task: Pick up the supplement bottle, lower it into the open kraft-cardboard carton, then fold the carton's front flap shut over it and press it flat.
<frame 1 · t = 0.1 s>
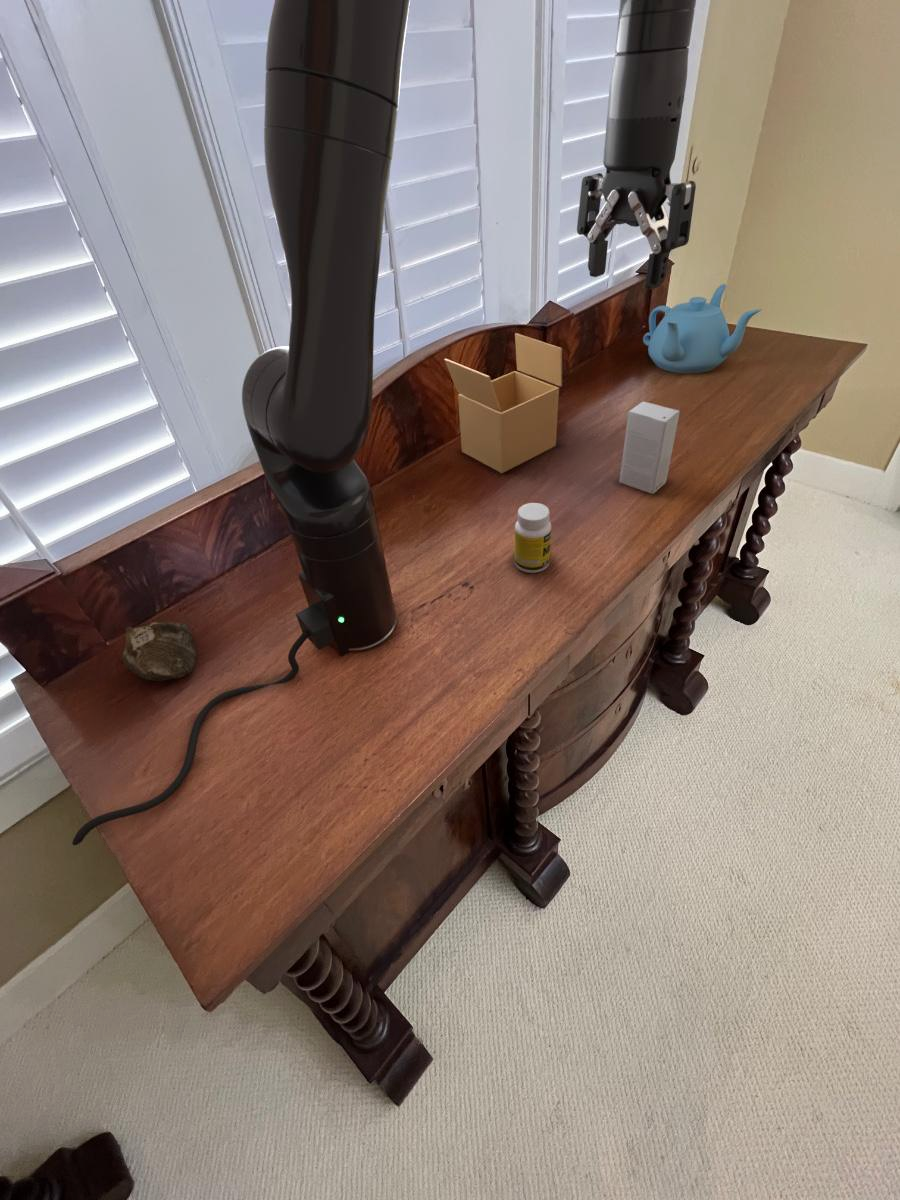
hand: (624, 281, 72), 29 cm above the sideboard, tool pointing down, fingers open, 8 cm apart
cosmetic box: (641, 484, 92), on the sideboard
flap: (472, 384, 90), point 14 cm above the sideboard, hinge at 110.0°
supplement bottle: (531, 563, 80), on the sideboard
fossilized seashell: (167, 663, 71), on the sideboard
teapot: (689, 363, 123), on the sideboard
carton: (508, 448, 102), on the sideboard
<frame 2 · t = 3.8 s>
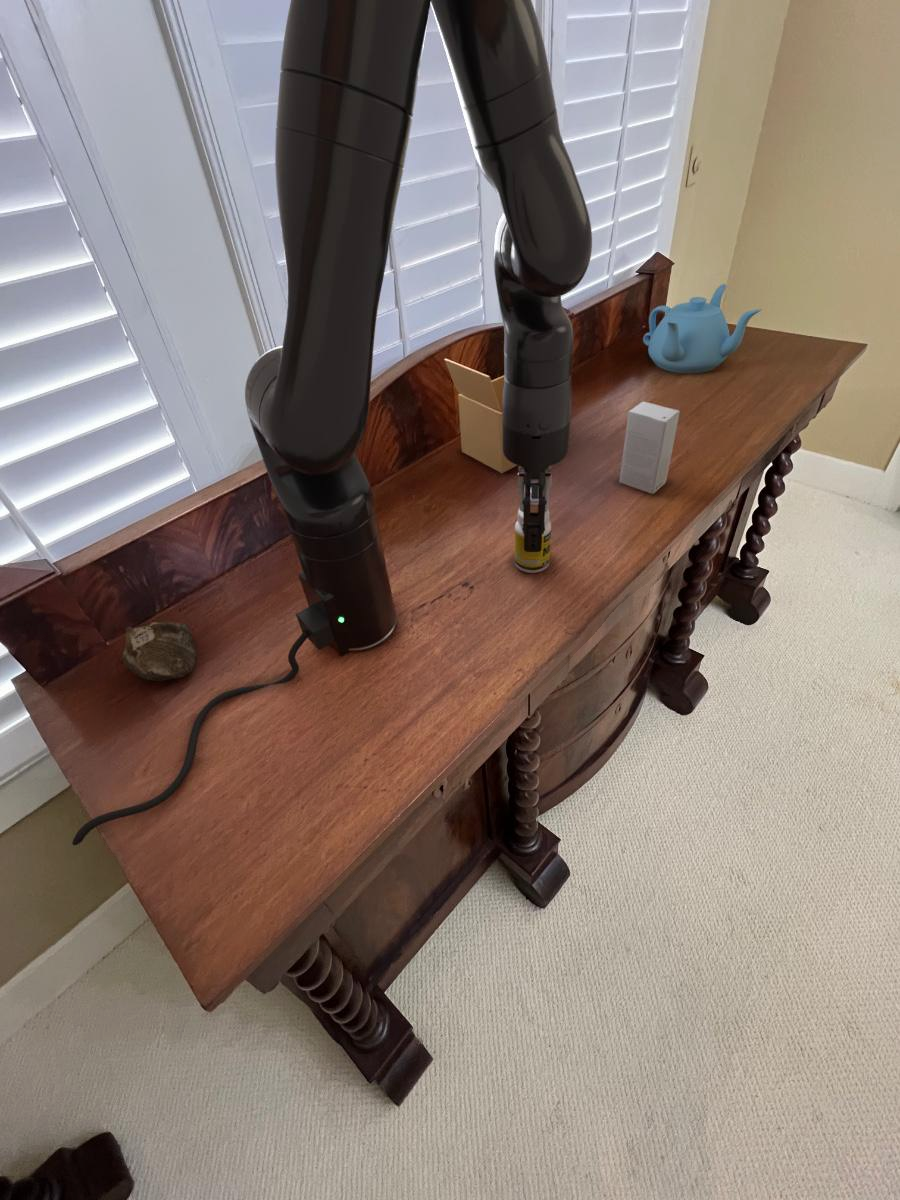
hand: (532, 536, 76), 4 cm above the sideboard, tool pointing down, fingers closed on supplement bottle, 4 cm apart
supplement bottle: (531, 563, 80), on the sideboard, touching gripper
everything else where it was.
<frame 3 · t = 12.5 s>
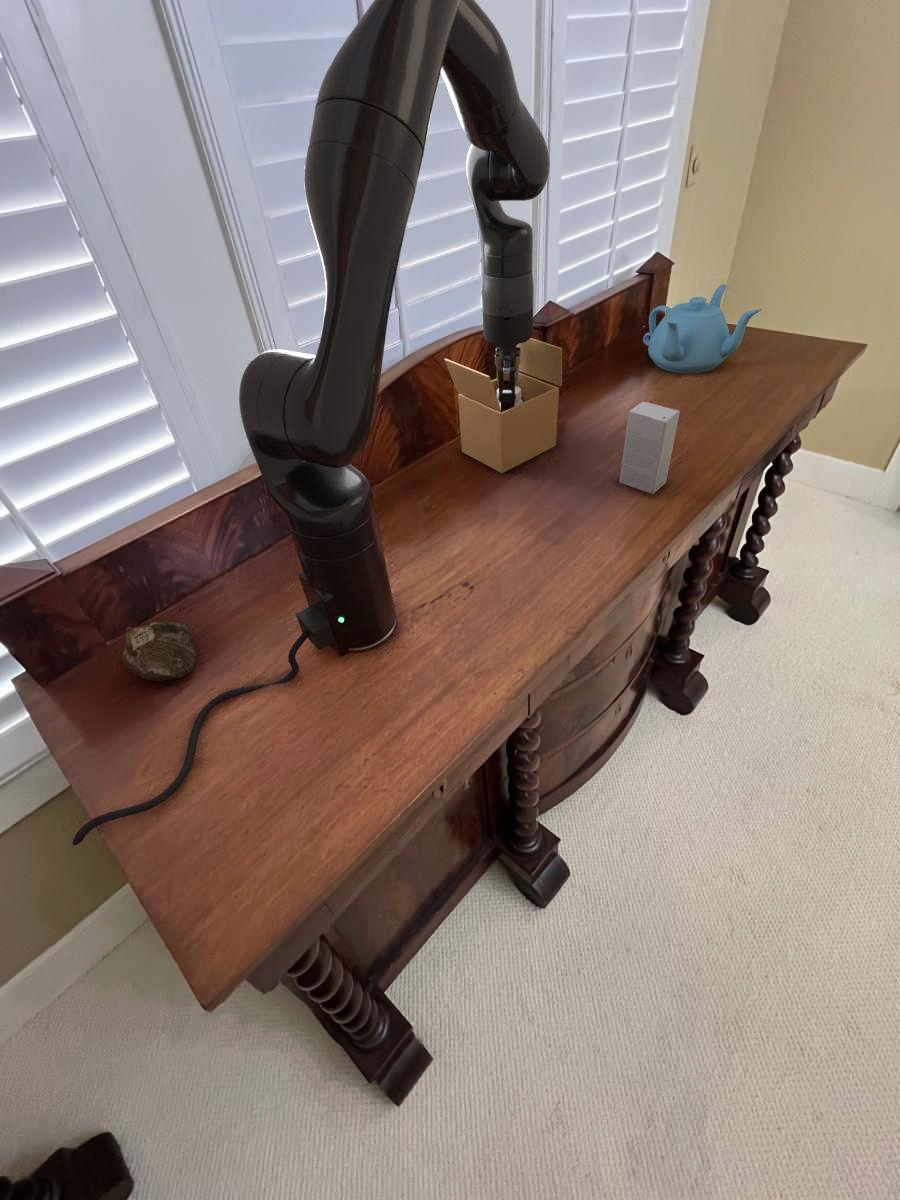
hand: (508, 413, 98), 7 cm above the sideboard, tool pointing down, fingers closed on supplement bottle, 4 cm apart
supplement bottle: (509, 438, 101), point 2 cm above the sideboard, touching gripper
everything else where it was.
when the fingers open (7 cm above the sideboard, at t = 21.6 s): supplement bottle drops 2 cm, resting on carton.
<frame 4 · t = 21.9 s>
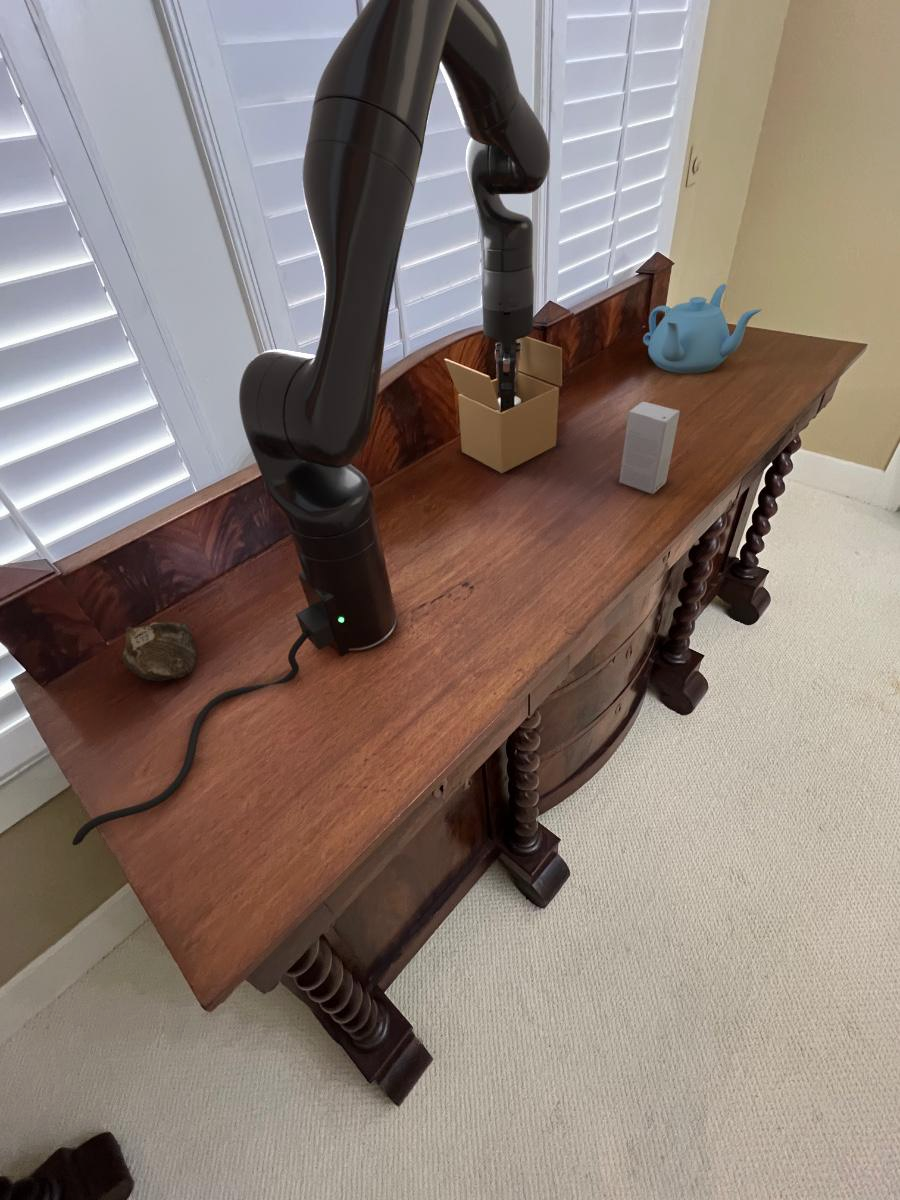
hand: (508, 406, 97), 8 cm above the sideboard, tool pointing down, fingers open, 7 cm apart
supplement bottle: (508, 447, 102), resting on carton
everything else where it was.
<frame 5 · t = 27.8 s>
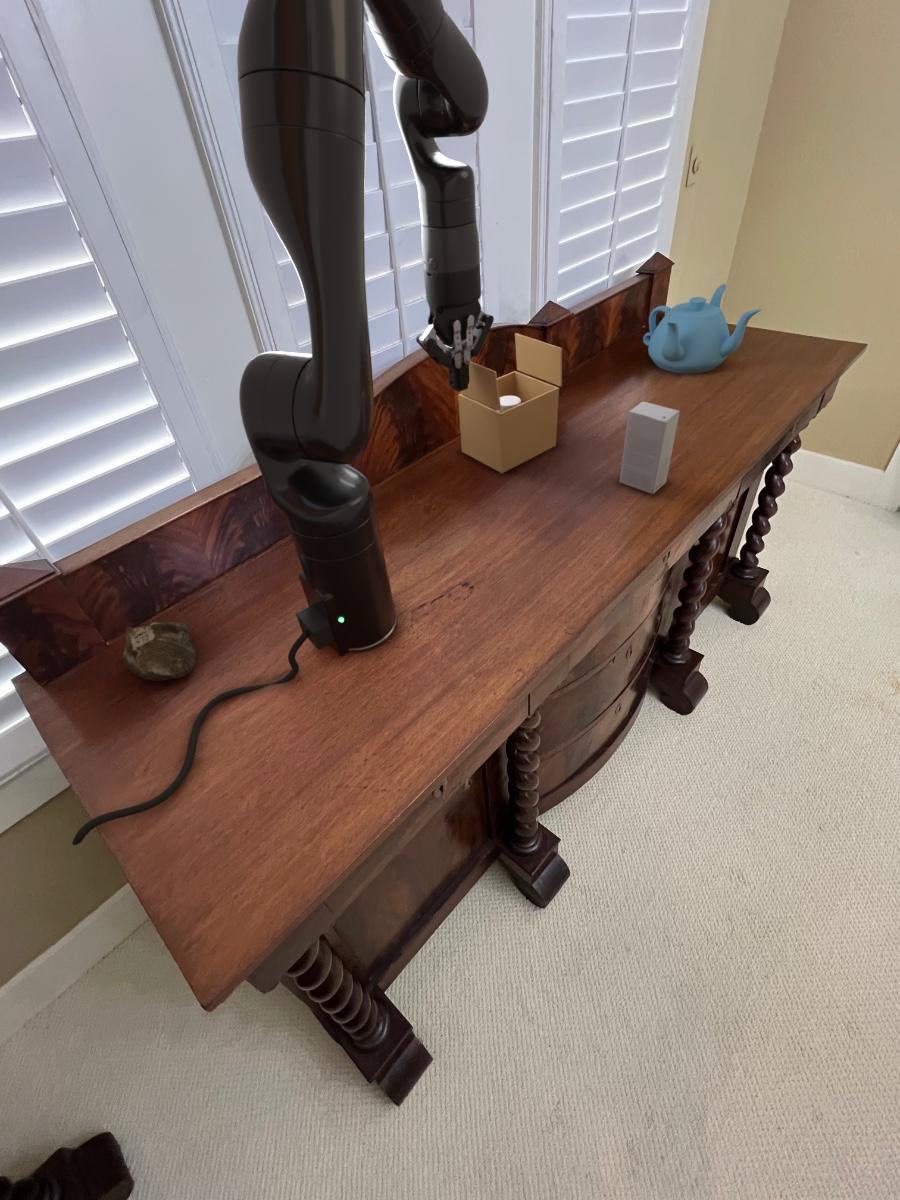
hand: (459, 389, 89), 14 cm above the sideboard, tool pointing down, fingers closed
flap: (475, 382, 90), point 14 cm above the sideboard, hinge at 97.9°, touching gripper
everything else where it was.
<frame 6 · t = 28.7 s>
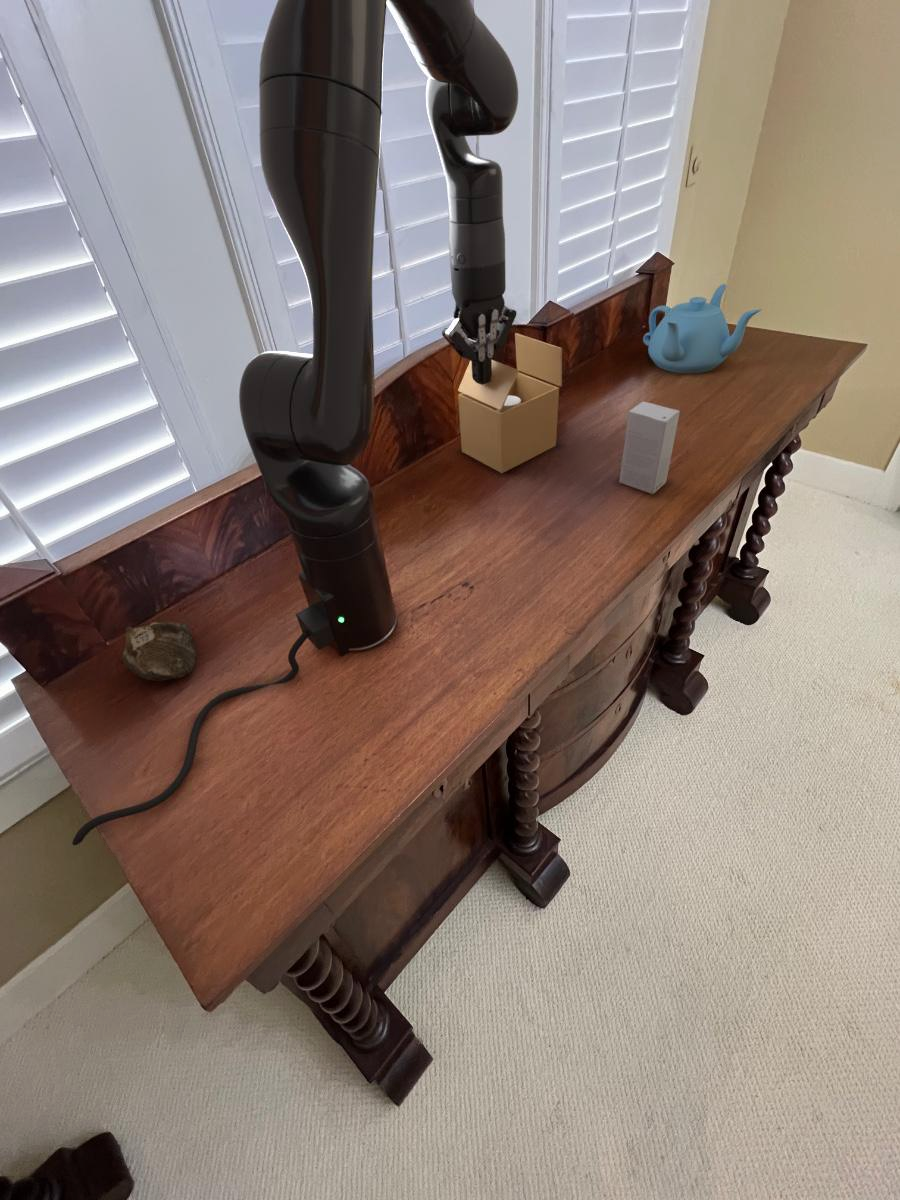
hand: (482, 382, 91), 14 cm above the sideboard, tool pointing down, fingers closed
flap: (487, 381, 91), point 14 cm above the sideboard, hinge at 52.9°, touching gripper
everything else where it was.
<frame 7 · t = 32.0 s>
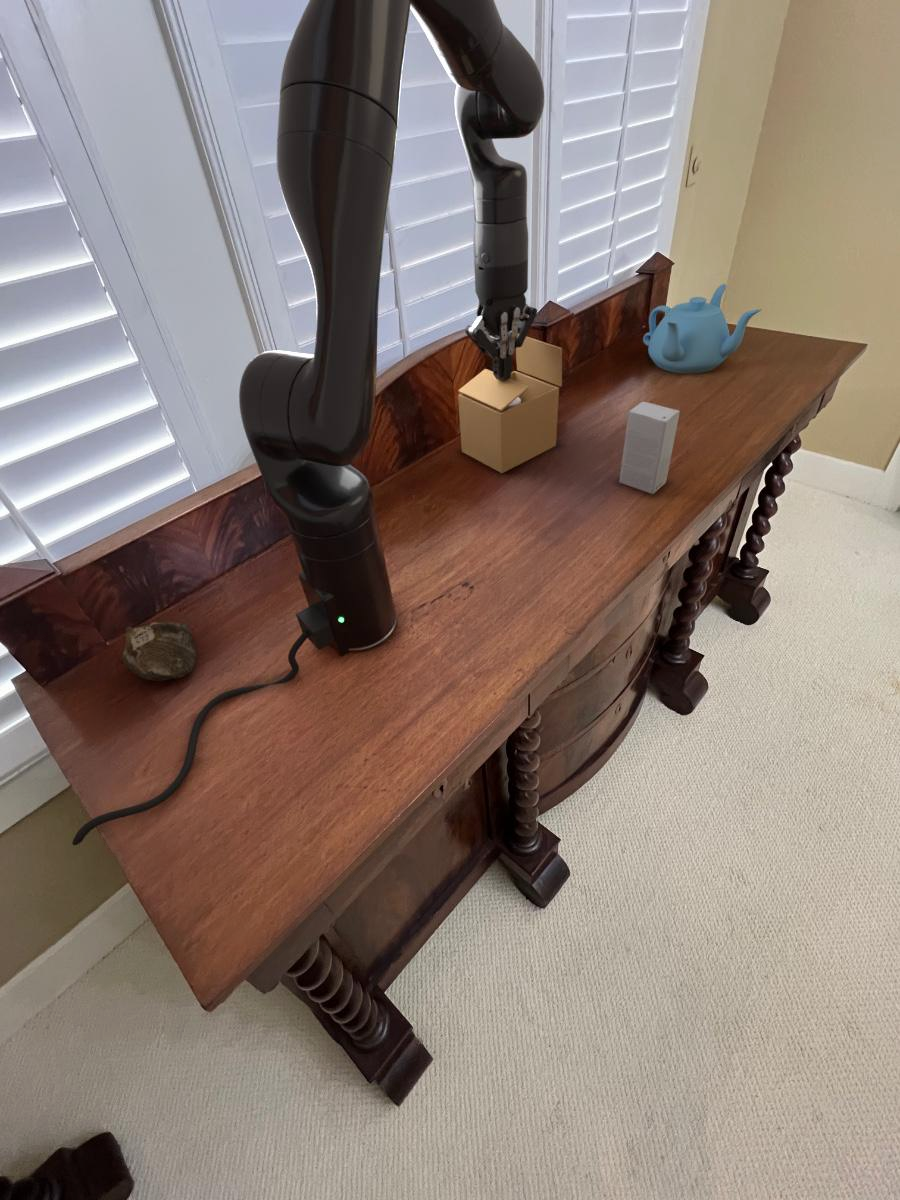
hand: (502, 378, 93), 13 cm above the sideboard, tool pointing down, fingers closed
flap: (492, 389, 93), point 12 cm above the sideboard, hinge at 16.2°
everything else where it was.
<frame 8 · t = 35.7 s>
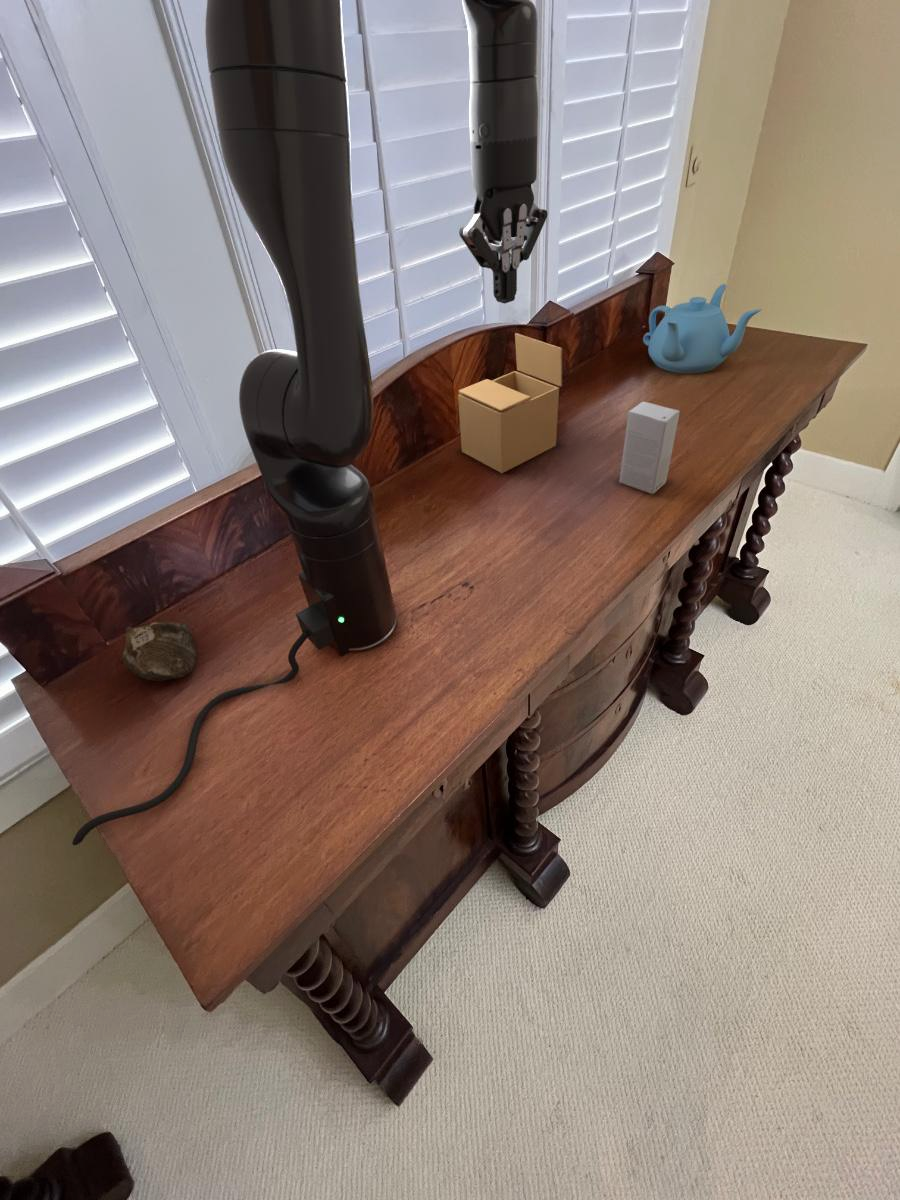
hand: (505, 301, 77), 27 cm above the sideboard, tool pointing down, fingers closed
flap: (493, 394, 93), point 11 cm above the sideboard, hinge at -0.5°
everything else where it was.
at the end: supplement bottle inside the target area in the carton (0.0 cm from its centre), point 0.2 cm above the carton's base; supplement bottle tilted 0°; flap at +0° (first picture: +110°) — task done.
